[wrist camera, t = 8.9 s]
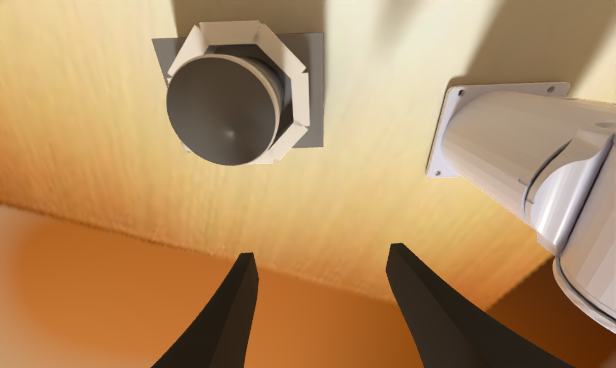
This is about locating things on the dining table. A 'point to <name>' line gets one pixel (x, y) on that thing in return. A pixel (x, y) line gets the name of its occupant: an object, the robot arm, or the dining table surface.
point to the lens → (226, 107)
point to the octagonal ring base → (275, 52)
